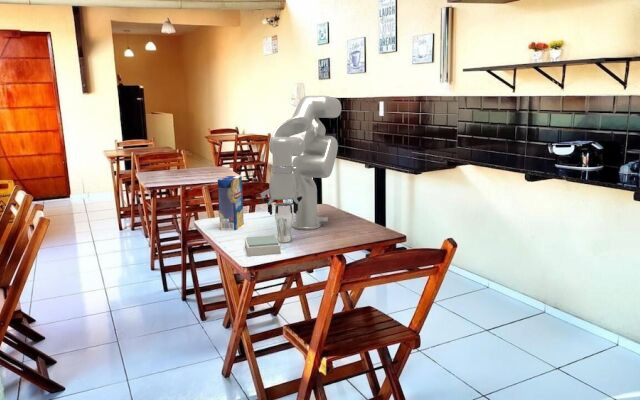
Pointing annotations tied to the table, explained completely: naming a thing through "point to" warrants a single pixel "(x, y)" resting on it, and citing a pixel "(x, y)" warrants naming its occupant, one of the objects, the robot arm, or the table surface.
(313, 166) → the robot arm
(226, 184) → the beverage box
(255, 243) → the base
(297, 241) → the table surface
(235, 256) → the table surface
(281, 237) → the beer glass
